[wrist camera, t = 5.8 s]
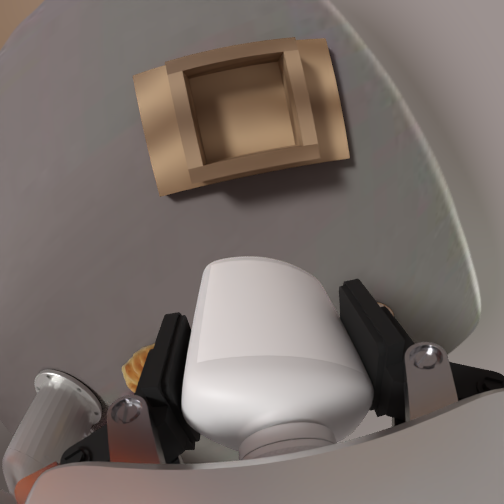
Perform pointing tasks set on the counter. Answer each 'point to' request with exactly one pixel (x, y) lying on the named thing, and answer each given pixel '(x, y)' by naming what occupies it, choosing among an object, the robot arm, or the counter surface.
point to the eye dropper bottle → (270, 362)
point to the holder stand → (241, 112)
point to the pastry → (135, 367)
